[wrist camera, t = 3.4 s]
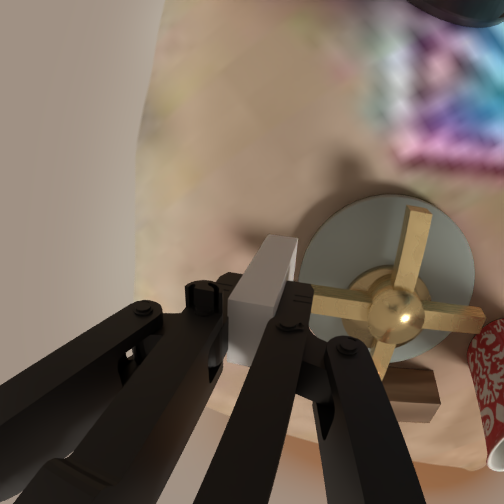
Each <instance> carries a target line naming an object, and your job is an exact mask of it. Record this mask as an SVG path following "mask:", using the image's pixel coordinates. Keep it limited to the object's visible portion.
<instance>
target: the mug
mask: <svg viewBox="0 0 504 504" xmlns="http://www.w3.org/2000/svg"><path fill="white" fill-rule="evenodd" d="M467 361H468V365H469V369H470V372H471V375H472V379H473V383H474V387H475V391H476V396H477V400H478V405H479V409H480V413H481V419H482V424H483V429H484V435H485V440H486V446H487V454H488V455H487V460H486V463H487V466H488V468H489V469H491V470H493V471H504V319H499V320H495V321H493V322H491V323H489V324H488V325H486V326H485V327H484V328H482V329H481V331H480V334H476V336H475V337H474V338H473V339H472V341H471V343H470V345H469V348H468V351H467Z"/></svg>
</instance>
